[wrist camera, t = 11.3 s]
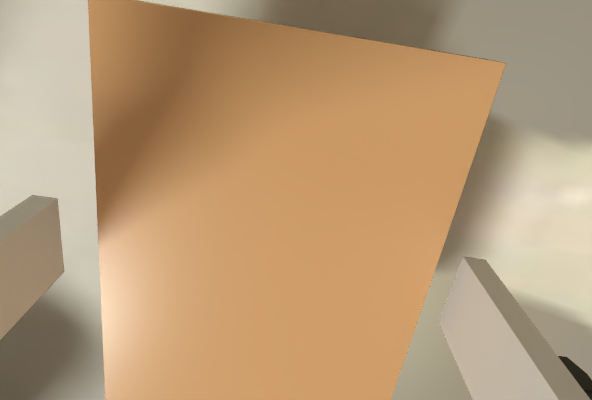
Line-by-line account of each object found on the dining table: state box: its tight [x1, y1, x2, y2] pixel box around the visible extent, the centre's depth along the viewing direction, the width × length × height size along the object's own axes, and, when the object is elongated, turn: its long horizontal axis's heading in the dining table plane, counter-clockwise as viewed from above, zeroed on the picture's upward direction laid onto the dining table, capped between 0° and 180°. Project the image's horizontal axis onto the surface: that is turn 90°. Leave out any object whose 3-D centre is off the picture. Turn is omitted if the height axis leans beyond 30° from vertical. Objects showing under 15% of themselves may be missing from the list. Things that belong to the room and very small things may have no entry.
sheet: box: [88, 0, 506, 400], centre depth 14 cm, size 15×11×1 cm
